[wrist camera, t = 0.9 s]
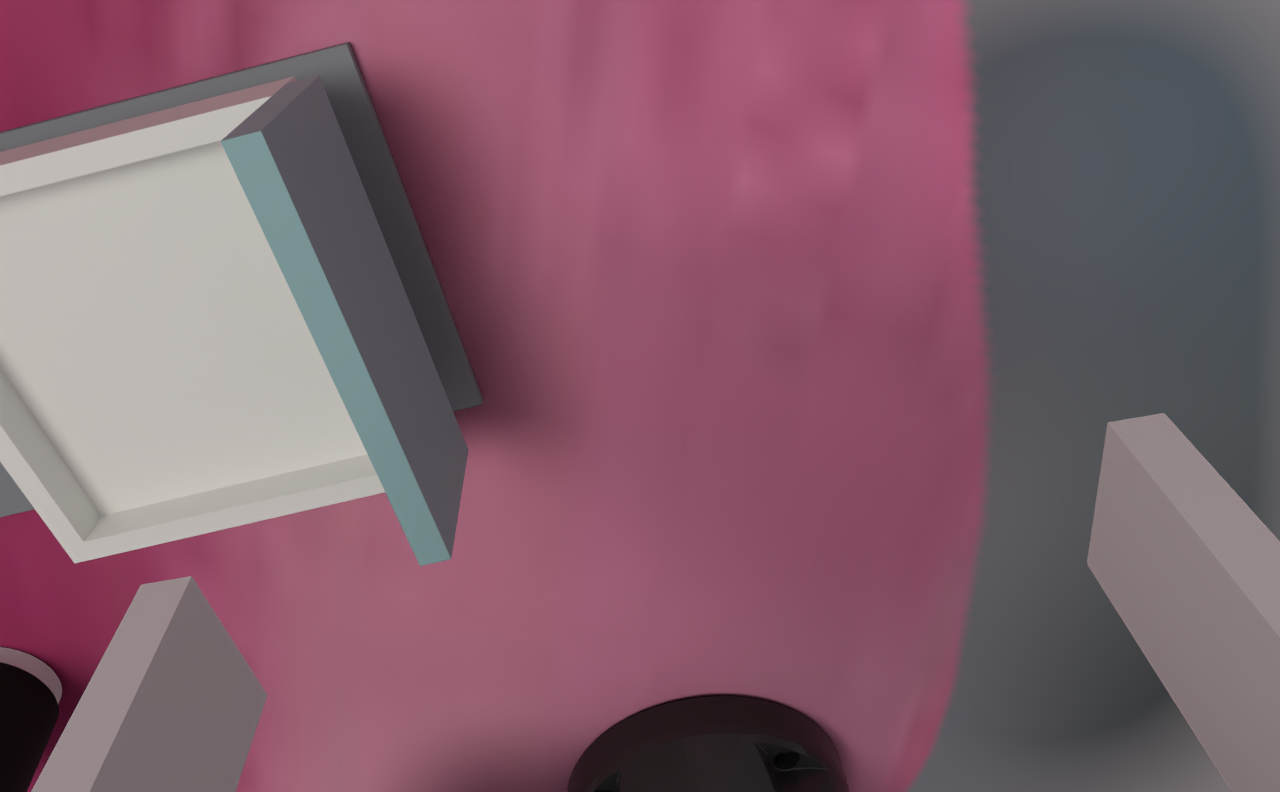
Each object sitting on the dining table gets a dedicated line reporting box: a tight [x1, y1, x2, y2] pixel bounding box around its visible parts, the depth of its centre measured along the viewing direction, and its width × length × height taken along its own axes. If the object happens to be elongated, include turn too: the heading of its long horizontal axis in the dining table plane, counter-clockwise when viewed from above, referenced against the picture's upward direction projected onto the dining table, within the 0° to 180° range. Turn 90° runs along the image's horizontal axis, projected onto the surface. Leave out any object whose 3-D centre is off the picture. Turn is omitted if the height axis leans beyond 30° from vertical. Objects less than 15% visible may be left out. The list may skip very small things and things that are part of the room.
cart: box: [0, 75, 468, 566], centre depth 29 cm, size 14×15×9 cm
